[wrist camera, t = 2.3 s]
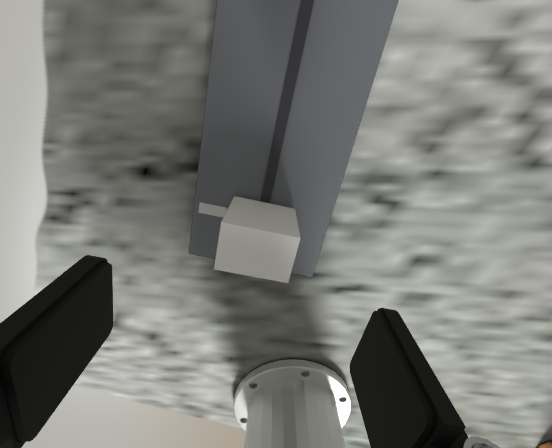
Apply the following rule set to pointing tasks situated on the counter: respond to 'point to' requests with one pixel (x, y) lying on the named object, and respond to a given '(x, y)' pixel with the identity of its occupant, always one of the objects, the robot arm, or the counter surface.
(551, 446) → the whiskey bottle
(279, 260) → the fader knob
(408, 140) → the counter surface
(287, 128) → the fader panel
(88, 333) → the robot arm
